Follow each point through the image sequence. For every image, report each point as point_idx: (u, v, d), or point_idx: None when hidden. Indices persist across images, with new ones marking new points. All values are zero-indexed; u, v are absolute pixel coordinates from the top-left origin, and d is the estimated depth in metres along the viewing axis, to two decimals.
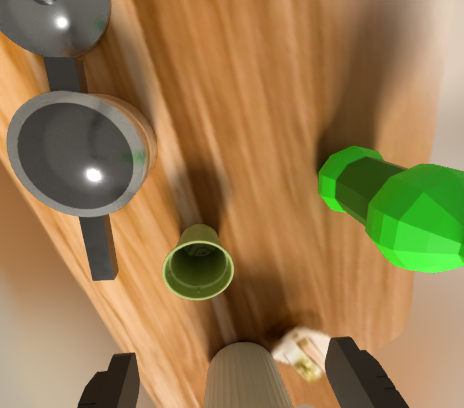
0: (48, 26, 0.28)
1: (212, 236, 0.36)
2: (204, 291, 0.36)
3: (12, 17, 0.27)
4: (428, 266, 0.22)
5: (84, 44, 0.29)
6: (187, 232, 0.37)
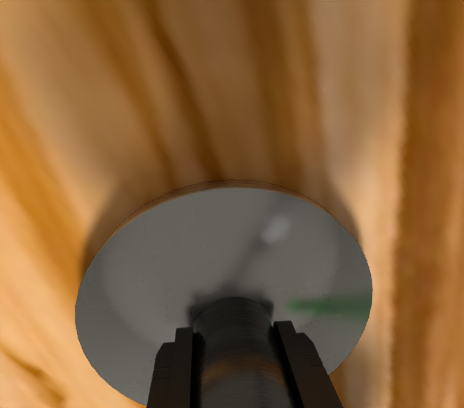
0: None
1: None
2: None
3: None
4: None
5: None
6: None
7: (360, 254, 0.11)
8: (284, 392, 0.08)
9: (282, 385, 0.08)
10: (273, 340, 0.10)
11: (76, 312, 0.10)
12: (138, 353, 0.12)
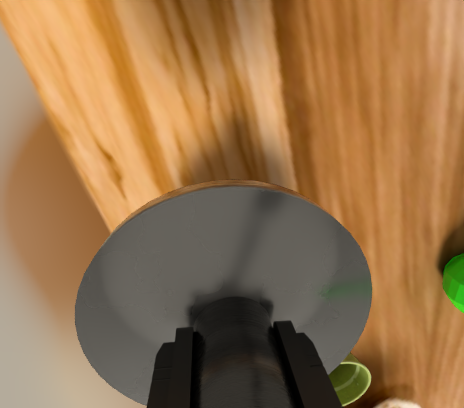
0: None
1: None
2: None
3: None
4: None
5: None
6: None
7: (360, 254, 0.11)
8: (284, 391, 0.08)
9: (282, 385, 0.08)
10: (273, 340, 0.10)
11: (76, 312, 0.10)
12: (138, 353, 0.12)
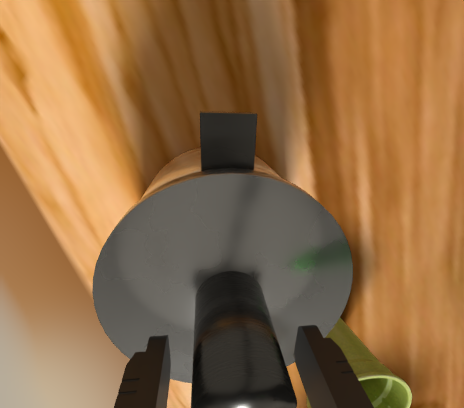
0: None
1: (361, 344, 0.25)
2: None
3: None
4: None
5: None
6: None
7: (340, 233, 0.13)
8: (271, 341, 0.10)
9: (270, 336, 0.10)
10: (264, 305, 0.11)
11: (93, 283, 0.12)
12: (146, 322, 0.13)
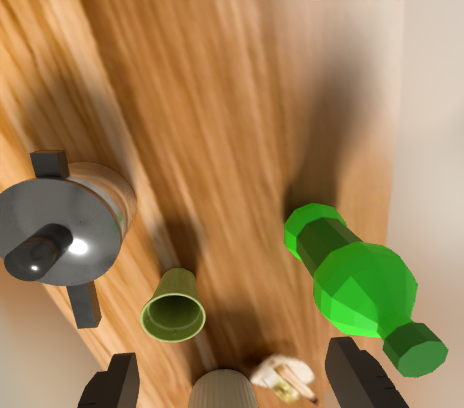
0: (62, 265, 0.30)
1: (187, 283, 0.40)
2: (180, 333, 0.39)
3: None
4: (358, 335, 0.26)
5: (96, 274, 0.31)
6: (165, 278, 0.41)
7: (101, 206, 0.28)
8: (45, 244, 0.25)
9: (46, 243, 0.25)
10: (58, 236, 0.27)
11: None
12: None
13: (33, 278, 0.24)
